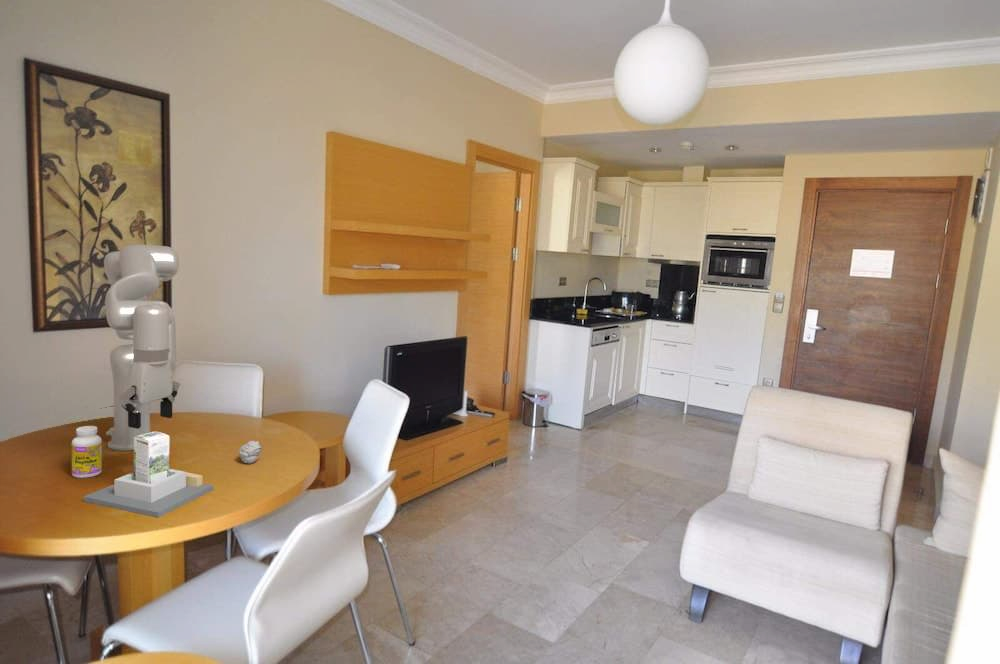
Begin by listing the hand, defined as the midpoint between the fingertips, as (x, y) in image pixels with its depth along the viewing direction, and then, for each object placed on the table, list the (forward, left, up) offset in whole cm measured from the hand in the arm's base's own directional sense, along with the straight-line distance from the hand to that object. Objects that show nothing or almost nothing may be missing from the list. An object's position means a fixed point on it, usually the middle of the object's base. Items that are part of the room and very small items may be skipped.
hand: (150, 422), depth 147 cm
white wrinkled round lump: (+7, +29, -19) cm, 35 cm away
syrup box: (0, 0, -18) cm, 18 cm away
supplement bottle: (-25, +4, -19) cm, 31 cm away
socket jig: (0, 0, -19) cm, 19 cm away
